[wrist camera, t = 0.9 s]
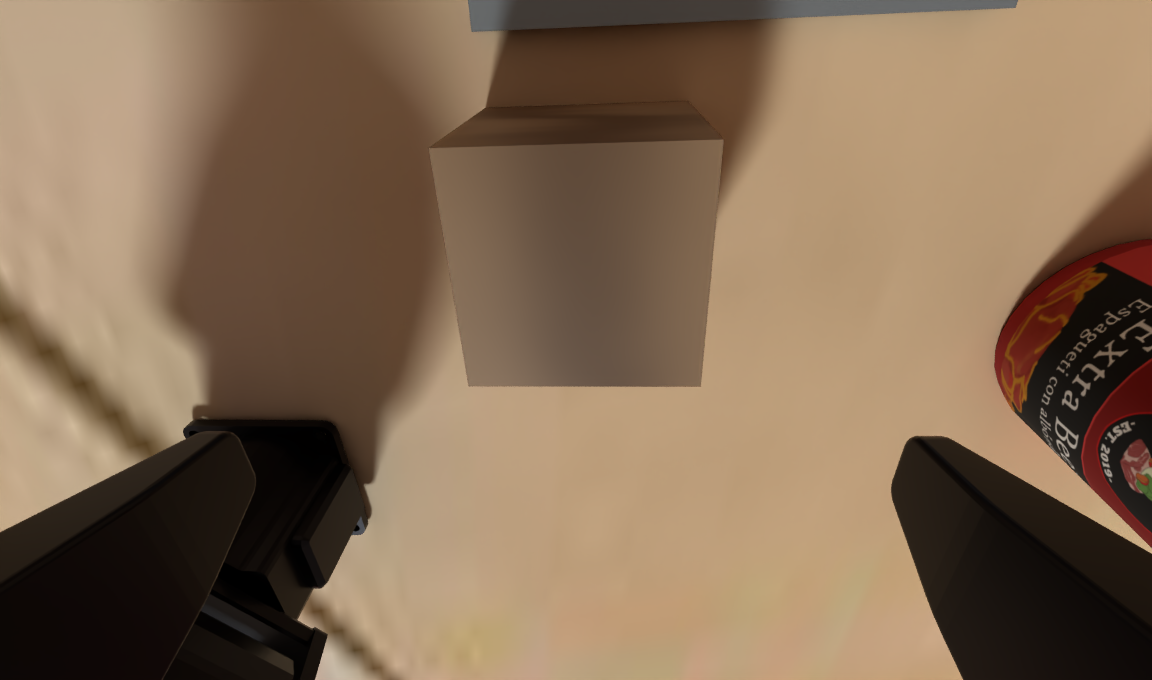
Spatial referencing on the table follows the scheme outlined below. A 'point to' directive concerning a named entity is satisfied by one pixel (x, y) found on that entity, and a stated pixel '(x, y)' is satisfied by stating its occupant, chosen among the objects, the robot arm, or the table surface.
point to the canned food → (1090, 373)
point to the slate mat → (687, 11)
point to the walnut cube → (581, 242)
